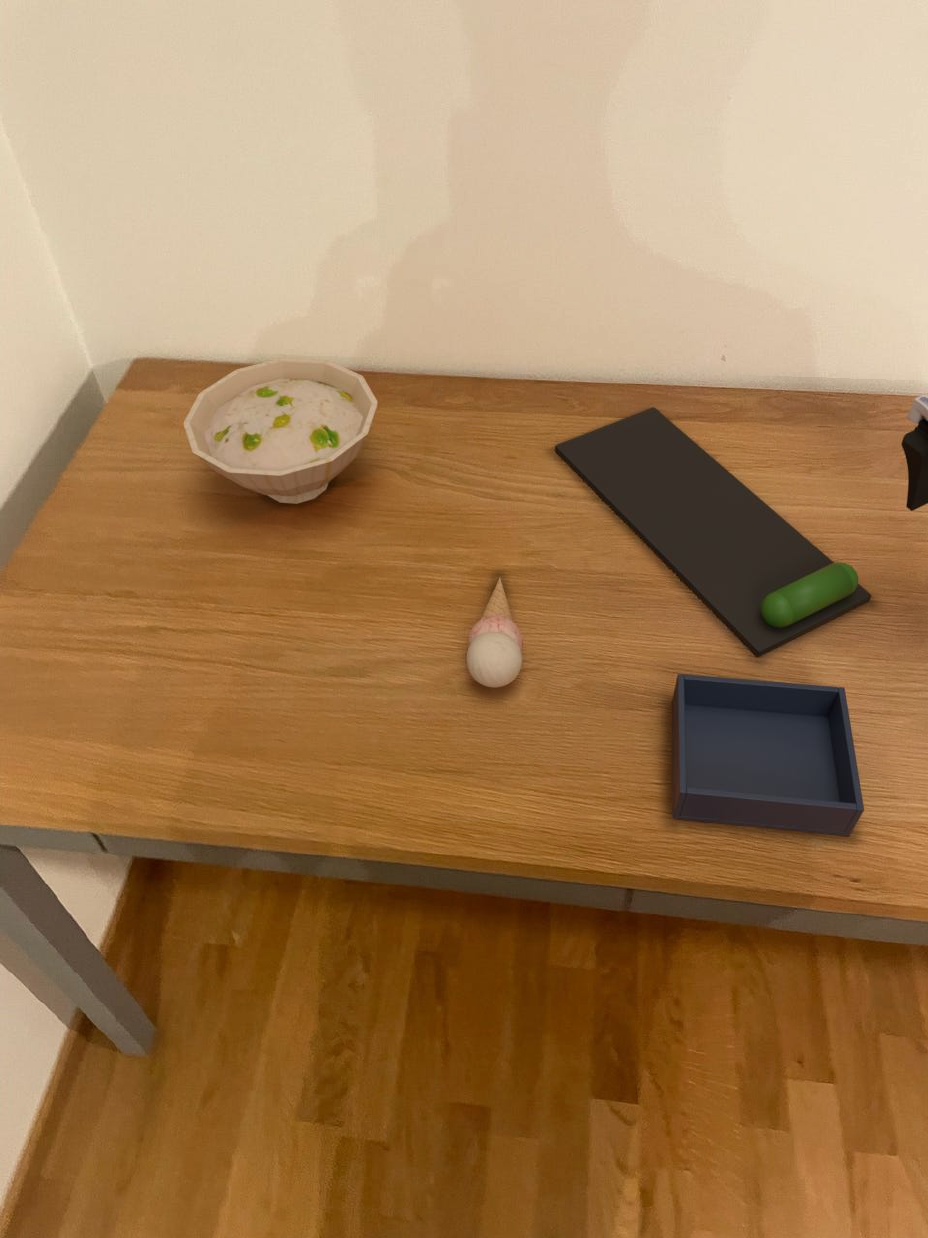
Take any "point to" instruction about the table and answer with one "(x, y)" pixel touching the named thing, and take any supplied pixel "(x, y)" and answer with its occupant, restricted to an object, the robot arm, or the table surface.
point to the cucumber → (809, 594)
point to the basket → (764, 755)
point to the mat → (702, 523)
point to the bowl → (282, 426)
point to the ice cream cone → (495, 644)
